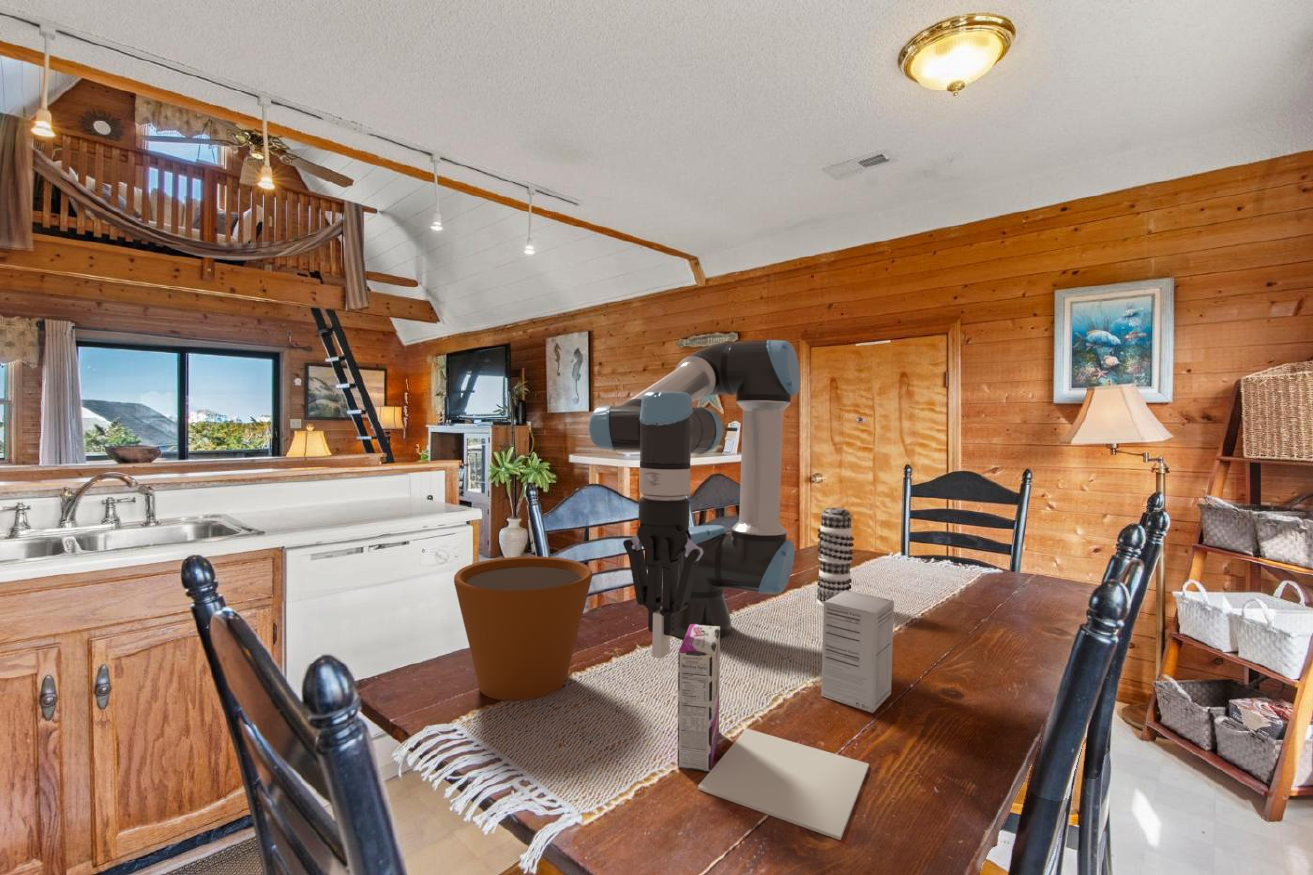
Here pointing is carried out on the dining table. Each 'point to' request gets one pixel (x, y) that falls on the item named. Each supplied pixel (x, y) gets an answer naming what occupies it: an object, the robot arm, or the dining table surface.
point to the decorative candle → (834, 553)
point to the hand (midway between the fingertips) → (661, 654)
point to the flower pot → (522, 622)
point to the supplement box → (857, 649)
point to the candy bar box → (698, 697)
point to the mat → (788, 781)
